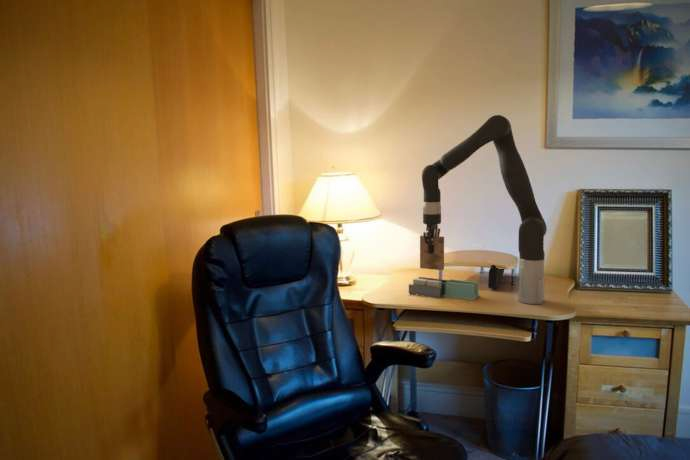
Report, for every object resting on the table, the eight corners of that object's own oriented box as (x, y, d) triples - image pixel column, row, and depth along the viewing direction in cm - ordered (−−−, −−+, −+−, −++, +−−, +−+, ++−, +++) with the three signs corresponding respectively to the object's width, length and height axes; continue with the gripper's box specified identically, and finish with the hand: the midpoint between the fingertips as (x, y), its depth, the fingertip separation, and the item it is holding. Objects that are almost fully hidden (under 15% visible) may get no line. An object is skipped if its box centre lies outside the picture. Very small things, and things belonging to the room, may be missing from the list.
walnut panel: (443, 269, 219) (444, 236, 217) (442, 270, 217) (442, 237, 215) (422, 267, 224) (421, 235, 222) (420, 268, 222) (420, 235, 220)
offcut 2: (441, 292, 216) (441, 281, 215) (438, 294, 213) (438, 282, 213) (429, 291, 219) (429, 279, 218) (426, 292, 216) (426, 281, 215)
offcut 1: (428, 290, 219) (428, 279, 218) (425, 292, 216) (425, 280, 216) (416, 289, 222) (416, 278, 221) (413, 291, 219) (413, 279, 219)
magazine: (495, 271, 216) (504, 239, 242) (487, 270, 218) (496, 238, 243) (496, 306, 223) (504, 271, 249) (488, 306, 225) (497, 271, 250)
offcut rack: (449, 291, 221) (449, 280, 220) (440, 298, 211) (440, 286, 211) (419, 287, 228) (419, 276, 227) (408, 293, 219) (408, 282, 218)
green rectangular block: (479, 295, 213) (479, 281, 212) (473, 300, 207) (473, 286, 206) (451, 292, 220) (451, 278, 219) (444, 296, 213) (444, 282, 212)
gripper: (434, 214, 209) (434, 256, 212) (446, 211, 221) (446, 250, 223) (417, 213, 213) (417, 255, 216) (430, 210, 225) (430, 249, 227)
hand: (432, 252), depth 219 cm, fingers closed on walnut panel, 2 cm apart
